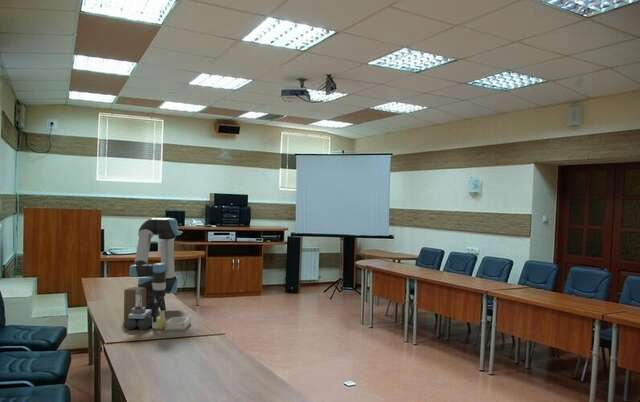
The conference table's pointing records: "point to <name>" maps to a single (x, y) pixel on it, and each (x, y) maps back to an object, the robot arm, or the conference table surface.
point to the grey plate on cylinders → (139, 319)
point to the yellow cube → (160, 323)
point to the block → (132, 300)
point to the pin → (138, 299)
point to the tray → (177, 323)
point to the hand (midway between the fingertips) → (158, 324)
